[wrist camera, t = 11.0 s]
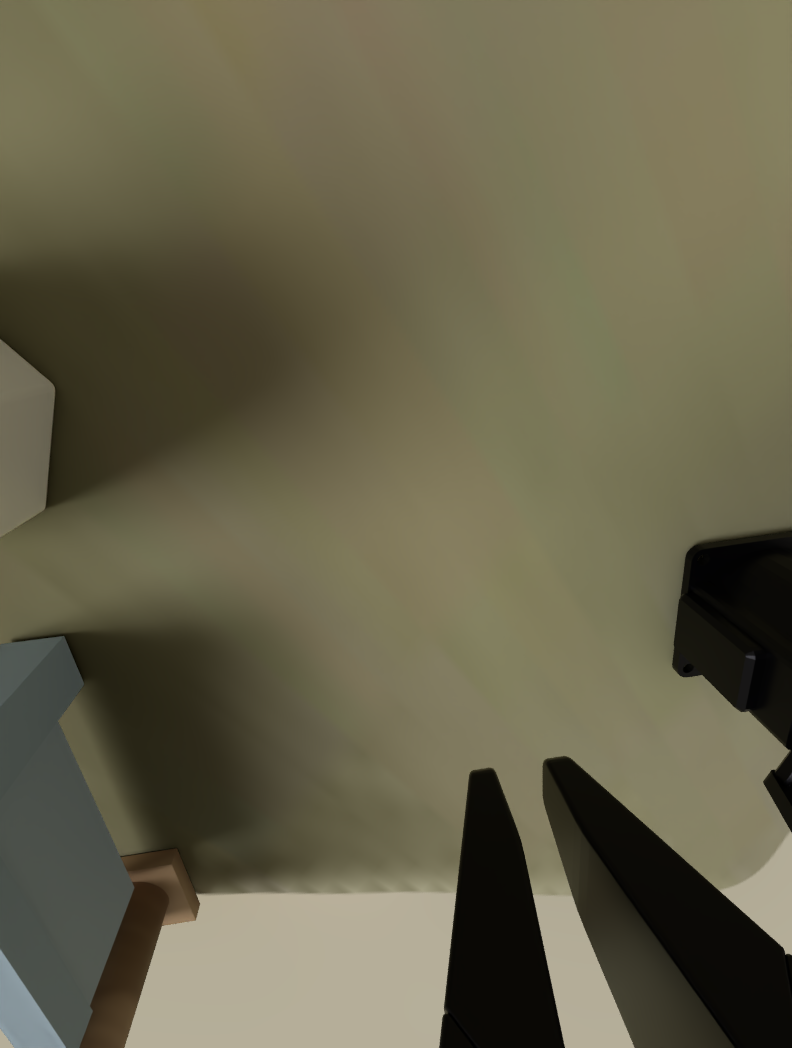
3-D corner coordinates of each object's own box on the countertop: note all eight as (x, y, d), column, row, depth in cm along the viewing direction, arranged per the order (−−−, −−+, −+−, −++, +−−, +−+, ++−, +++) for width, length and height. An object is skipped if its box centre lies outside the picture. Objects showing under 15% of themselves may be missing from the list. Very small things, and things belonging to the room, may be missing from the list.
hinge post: (176, 848, 25) (76, 1157, 16) (199, 903, 27) (121, 1212, 18) (87, 862, 25) (-68, 1182, 16) (116, 917, 27) (-8, 1235, 17)
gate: (157, 858, 25) (79, 1077, 18) (108, 865, 25) (9, 1089, 18) (64, 635, 20) (-99, 816, 13) (1, 644, 20) (-198, 830, 13)
